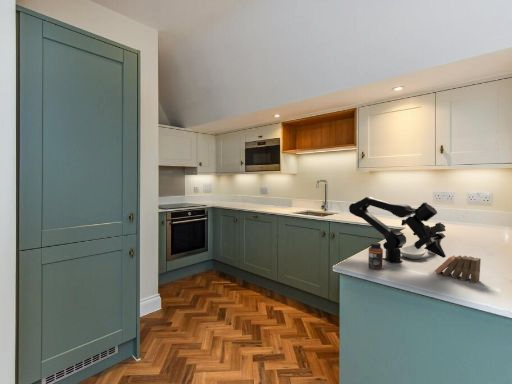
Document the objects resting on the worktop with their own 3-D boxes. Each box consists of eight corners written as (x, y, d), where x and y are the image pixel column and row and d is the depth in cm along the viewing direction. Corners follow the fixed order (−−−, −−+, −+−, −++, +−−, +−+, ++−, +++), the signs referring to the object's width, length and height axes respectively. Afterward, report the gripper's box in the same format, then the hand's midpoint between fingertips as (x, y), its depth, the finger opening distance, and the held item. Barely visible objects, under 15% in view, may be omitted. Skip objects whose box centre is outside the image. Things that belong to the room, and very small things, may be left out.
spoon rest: (415, 262, 137) (416, 248, 136) (393, 256, 147) (394, 242, 147) (443, 256, 148) (443, 243, 148) (420, 251, 158) (421, 238, 158)
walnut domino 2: (451, 276, 116) (460, 257, 113) (455, 273, 119) (465, 255, 116) (455, 278, 115) (465, 259, 112) (459, 275, 118) (469, 257, 115)
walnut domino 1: (442, 273, 119) (455, 257, 115) (447, 271, 122) (460, 255, 118) (446, 276, 118) (459, 260, 114) (451, 273, 121) (463, 258, 117)
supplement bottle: (378, 265, 130) (379, 241, 130) (384, 270, 124) (385, 244, 124) (365, 265, 130) (366, 241, 129) (371, 270, 124) (372, 244, 123)
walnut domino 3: (460, 279, 114) (465, 258, 112) (464, 276, 117) (470, 256, 115) (465, 280, 112) (470, 259, 111) (469, 278, 115) (474, 257, 114)
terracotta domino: (434, 270, 121) (449, 257, 116) (439, 268, 124) (454, 255, 119) (437, 273, 120) (453, 260, 116) (442, 271, 123) (457, 258, 118)
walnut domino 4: (470, 282, 111) (471, 259, 110) (474, 279, 114) (475, 257, 113) (475, 283, 110) (476, 260, 109) (479, 280, 113) (480, 258, 112)
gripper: (423, 218, 118) (452, 250, 110) (441, 215, 129) (469, 243, 121) (403, 233, 125) (429, 264, 116) (422, 229, 136) (447, 257, 128)
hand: (444, 257), depth 120 cm, fingers closed
